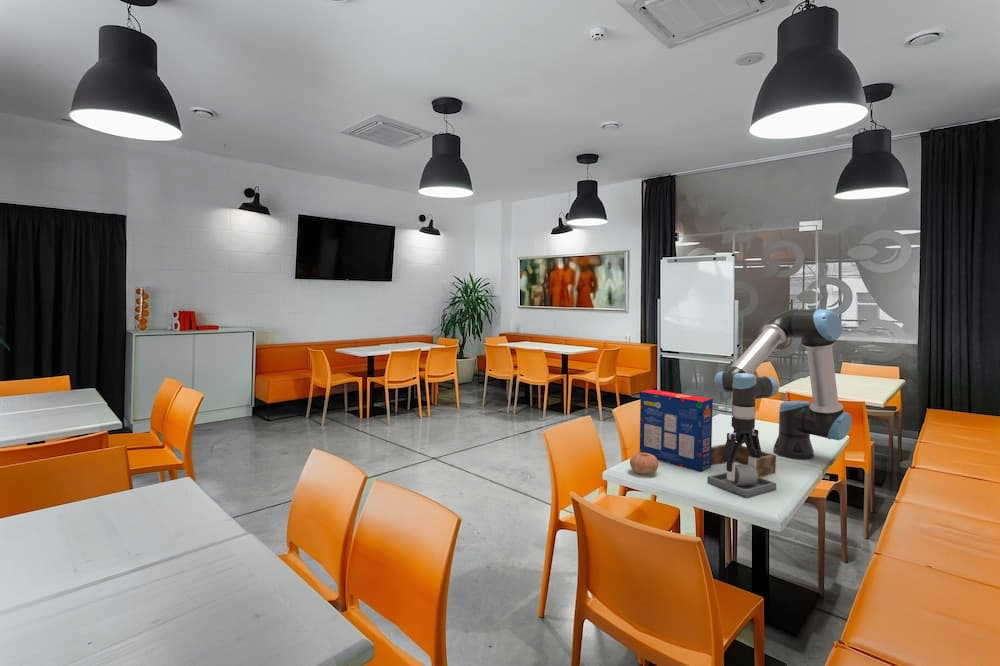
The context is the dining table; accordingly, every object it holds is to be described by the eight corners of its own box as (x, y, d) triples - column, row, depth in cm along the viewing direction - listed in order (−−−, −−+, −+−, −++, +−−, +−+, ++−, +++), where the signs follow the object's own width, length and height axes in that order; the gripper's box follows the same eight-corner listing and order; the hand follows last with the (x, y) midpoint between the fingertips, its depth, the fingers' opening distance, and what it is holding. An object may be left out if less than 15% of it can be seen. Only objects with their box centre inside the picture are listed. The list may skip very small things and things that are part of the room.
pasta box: (710, 467, 204) (712, 398, 202) (700, 472, 199) (702, 401, 197) (650, 451, 225) (651, 389, 223) (639, 455, 220) (640, 391, 218)
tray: (736, 475, 194) (737, 469, 194) (776, 490, 180) (776, 483, 180) (707, 483, 187) (707, 476, 187) (745, 498, 173) (746, 491, 172)
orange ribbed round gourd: (624, 470, 201) (624, 450, 200) (646, 467, 205) (647, 447, 204) (640, 479, 191) (641, 458, 190) (664, 475, 195) (664, 455, 194)
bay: (731, 459, 214) (732, 442, 214) (775, 473, 197) (776, 455, 196) (707, 464, 208) (707, 447, 207) (749, 479, 190) (750, 461, 190)
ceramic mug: (760, 488, 180) (760, 466, 179) (738, 489, 179) (739, 467, 178) (741, 478, 190) (742, 458, 190) (721, 479, 189) (721, 459, 189)
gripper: (755, 411, 190) (753, 469, 192) (711, 418, 180) (710, 479, 181) (774, 415, 183) (772, 475, 185) (730, 423, 173) (728, 486, 175)
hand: (741, 477), depth 183 cm, fingers open, 11 cm apart
